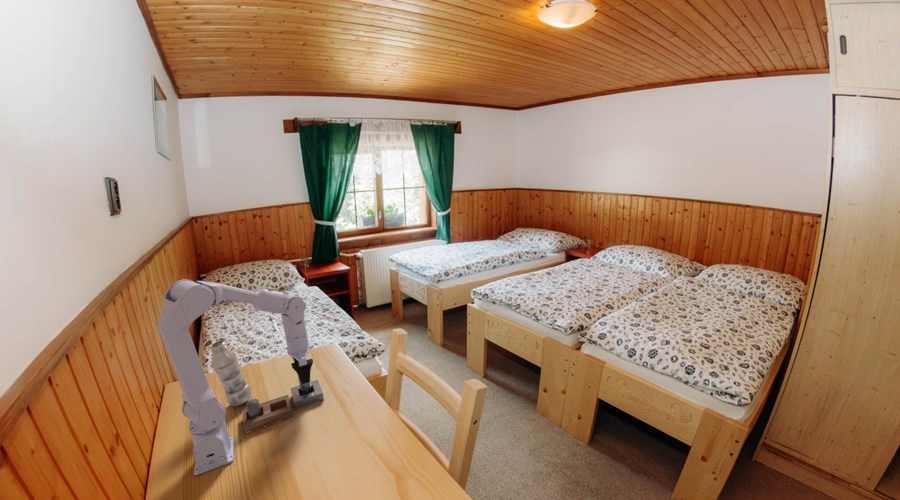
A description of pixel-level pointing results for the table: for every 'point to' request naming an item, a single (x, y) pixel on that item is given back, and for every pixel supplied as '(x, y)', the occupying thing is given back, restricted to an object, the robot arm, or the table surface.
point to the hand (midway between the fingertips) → (303, 376)
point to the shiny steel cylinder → (305, 387)
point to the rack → (265, 413)
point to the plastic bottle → (229, 374)
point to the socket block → (307, 395)
